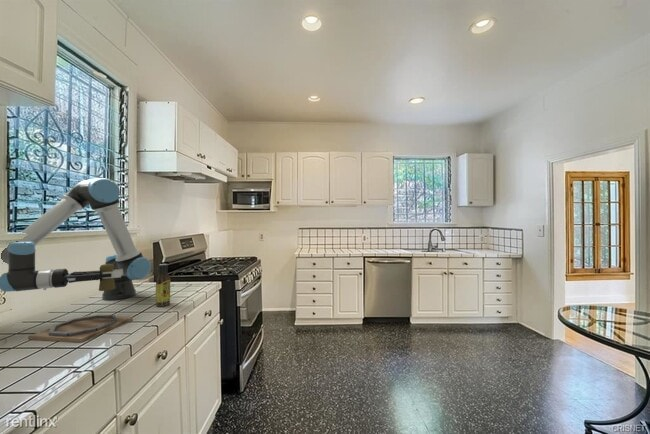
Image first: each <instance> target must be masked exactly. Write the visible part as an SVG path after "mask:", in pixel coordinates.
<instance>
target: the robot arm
mask: <svg viewBox="0 0 650 434" xmlns="http://www.w3.org/2000/svg"><path fill="white" fill-rule="evenodd" d="M120 195H121V192H120V188H119V185H118V184H117V183H116V182H115V181H114V180H112V179H109V178H104V177H102V178H101V177H98V178H91V179H85V180H82V181H80V182H78V183H77V184H75V185H74V186H73V187H72V188H70V189H69V190H68V191H67V192H66V193H64V194H63V195H62V197H61V198H62V199H61V200H59V201H58V202H57V203H55V205H53V206H51V208H49V209H48V210H47V211H45V213H43V214H42V215H40V217H38V218H37V219H36V220H34V221H33V222H32V223H31V224H29V225H28V226H26V228H24V229H23V230H22V231H21V232H22V233H26V234H28V235H27V236H25V237H24V238H23V239H21V240H19V241H16V242H11V243H9V245H8V247H7V248H5V249H4V250H3V251H2V253H1V259H2V260H3V262H5V263H7V264H6V265H8V270H7V272H4V273H2V274H1V276H0V290H1V291H2V292H4V293H6V292H21V291H22V292H23V291H24V292H25V291H31V290H32V291H34V290H42V289H43V291H46V290H47V289H52V288H54V289H55V288H56V289H57V288H65V287H66V286H68V283H69V284H72V283H80V282H91V281H99V282H100V281H102V278H103V279H107V278H114V282H115V287H116V289H113V290H108V291H103V293H102V294H101V298H102V300H104V301H117V300H123V299H128V298H131V297H134V296H136V294H137V291H136V289H135V287H134V283H133V281H139V280H142V279H144V278H145V277H147V276H148V275H149V274H150V271H151V268H152V267H151V266H152V265H151V261H150V260H149V259H148V258H147V257H144V256H143V253H142V251H141V250H140V249H137V248H136V245H135V243H134V241H133V239H132V237H131V234H130V231H129V230H128V227H127V225H126V222H125V220H124V218H123V215H122V212H121V211H120V209H119V204H120V203H121V201H120V199H119V197H120ZM88 206H90V208H91V210H92V211H93V212H96V213H98V216H99V218H100V220H101V223H102V226H103V227H104V230H105V232H106V234H107V236H108V238H109V240H110V242H111V245H112V248H113V249H114V251H115V254H112V255H107V256H106V258H105V262H104V264H113V265H114V270H113V272H103V273H101V272H100V269H99V270H87V271H72V272H70V273H69V270H68V269H67V268H58V269H57V268H56V269H53V268H52V269H51V268H50V269H40V270H36V247H37V245H38V244H39V243H41V241H43V240H44V239H46V238H47V237H48V236H49V235H50V234H51V233H52V232H54V231H55V230H56V229H57V228H59V227H60V226H61V225H62V224H63V223H64V222H66V221H67V220H68V219H69V218H70V217H72V216H73V215H74V214H75V213H76V212H77V211H82V210H83V209H84V208H85V207H88Z"/></svg>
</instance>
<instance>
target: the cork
mask: <svg viewBox="0 0 650 434" xmlns="http://www.w3.org/2000/svg"><path fill="white" fill-rule="evenodd" d="M99 270H100V272H101V273H103V272H113V270H114V265H113V264H105V263H104V264H101V265H100V266H99ZM113 289H116V287H115V282H114V278H107V279H103V278H102V281H100V280H99V286H98V291H99V292H104V291H108V290H113Z"/></svg>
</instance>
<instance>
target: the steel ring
mask: <svg viewBox="0 0 650 434" xmlns="http://www.w3.org/2000/svg"><path fill="white" fill-rule="evenodd" d="M86 316H87V315H86ZM115 317H116V314H115V315H114V314H112V315H111V314H95V315H90V316H87V317H84V316H82V317H81V316H80V317H77V318H72V319H68V320H67V321H64V322H59V323H57V324H54V325H52V326H51V327H50V328H51V329H50V328H49V329H50V331H49V335H51V336H73V335H78V334H83V333H89V332H94V331H98V330H100V329H103V328H105V327H107V326H110V325H112V324H115ZM94 318H107V319H112V321H110V322H108V323H105V324H103V325H100V326H98V327H95V328H90V329H85V330H79V331H74V332H57V331H55V330H56V328H59V327H62V326H64V325H67V324H70V323H73V322H77V321H82V320H88V319H94Z"/></svg>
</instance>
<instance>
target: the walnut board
mask: <svg viewBox="0 0 650 434" xmlns="http://www.w3.org/2000/svg"><path fill="white" fill-rule="evenodd" d="M87 316H91V315H89V314H88V315H84V316H83V317H87ZM110 321H112V319H107V318H94V319H88V320H82V321H77V322H73V323H70V324H67V325H64V326H62V327H59V328H56V330H55V331H57V332H74V331H79V330H85V329H90V328H95V327H98V326H100V325H103V324H105V323H108V322H110ZM131 321H133V317H132V316H115V324H112V325H110V326H107V327H105V328H103V329H100V330H98V331H94V332H89V333H83V334H78V335H73V336H51V335H49V331H50V329H51V328H52V327H50V328H47V329H44V330H42V331H38V332H35V333H33V334H30V335H28V337H27V338H28V340H32V341H33V340H37V341H53V342H67V343H68V342H71V343H84V342H86V341H88V340H90V339H92V338H94V337H97V336H99V334H100V335H102V334H104V333H107V332H109V331H111V330H113V329H115V328H118V327H120V326H122V325H125V324H127V323H130V322H131ZM83 341H84V342H83Z"/></svg>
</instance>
